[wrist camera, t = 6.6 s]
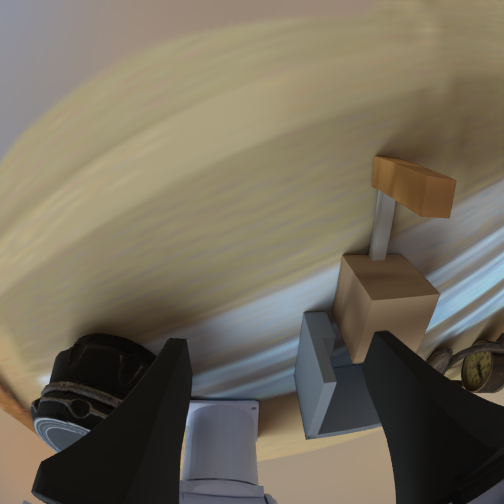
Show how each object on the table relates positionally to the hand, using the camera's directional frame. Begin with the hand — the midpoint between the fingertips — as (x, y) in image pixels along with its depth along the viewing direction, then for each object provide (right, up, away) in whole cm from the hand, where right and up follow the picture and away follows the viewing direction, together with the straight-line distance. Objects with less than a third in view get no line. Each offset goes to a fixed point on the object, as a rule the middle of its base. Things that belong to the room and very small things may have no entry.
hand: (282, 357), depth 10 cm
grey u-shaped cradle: (+8, -4, +13) cm, 16 cm away
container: (-14, -8, +14) cm, 22 cm away
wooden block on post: (+8, +5, +9) cm, 13 cm away
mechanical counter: (+24, -7, +16) cm, 30 cm away
